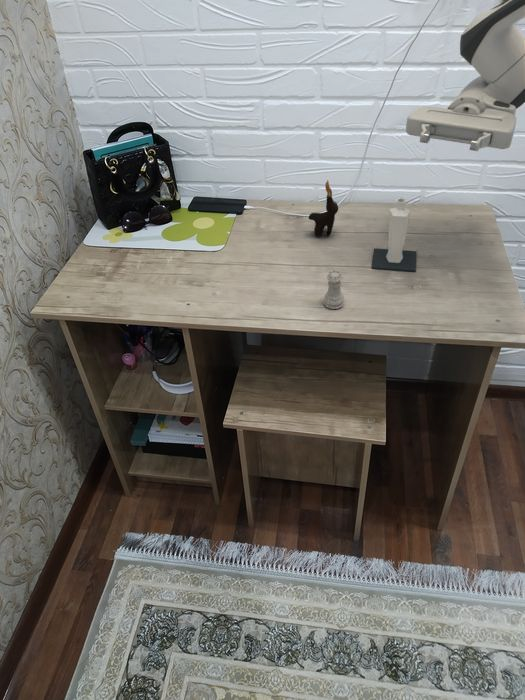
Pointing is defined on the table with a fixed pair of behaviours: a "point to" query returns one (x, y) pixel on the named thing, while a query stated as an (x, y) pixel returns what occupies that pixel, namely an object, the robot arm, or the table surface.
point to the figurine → (325, 215)
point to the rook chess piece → (334, 291)
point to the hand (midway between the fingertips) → (448, 142)
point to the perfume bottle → (397, 230)
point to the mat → (382, 263)
